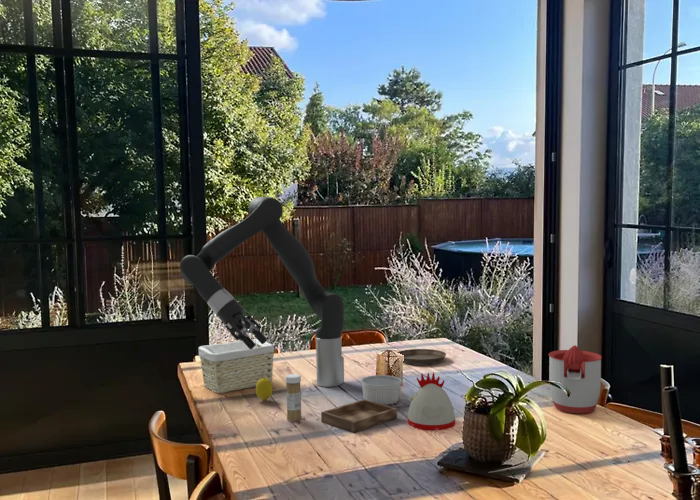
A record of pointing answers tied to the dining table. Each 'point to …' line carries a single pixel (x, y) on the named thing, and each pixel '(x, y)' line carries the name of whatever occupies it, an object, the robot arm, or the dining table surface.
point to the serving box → (358, 415)
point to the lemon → (264, 388)
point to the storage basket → (235, 365)
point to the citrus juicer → (575, 379)
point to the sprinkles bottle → (293, 397)
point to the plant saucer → (422, 356)
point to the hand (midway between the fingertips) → (259, 344)
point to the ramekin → (381, 389)
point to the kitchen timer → (431, 406)
